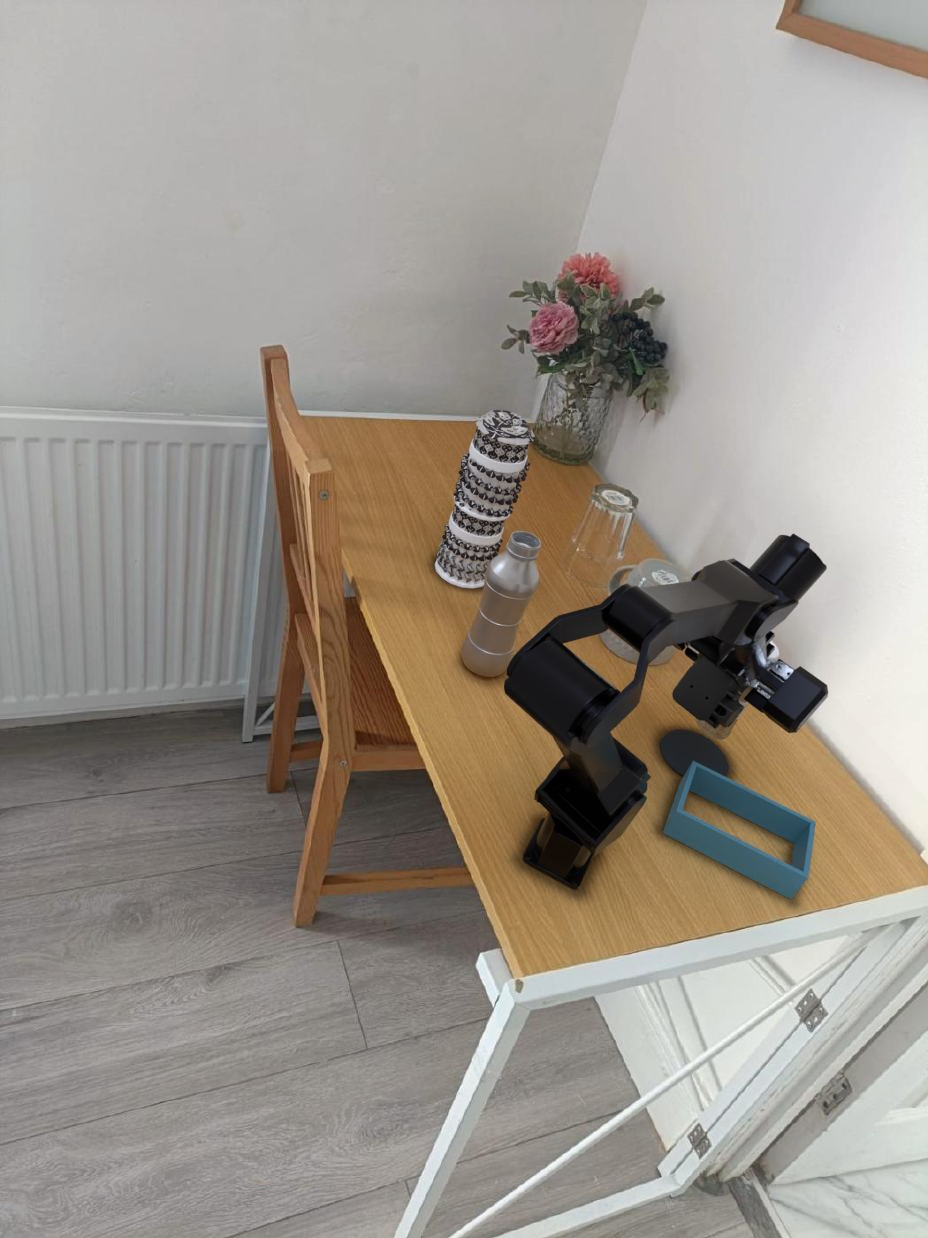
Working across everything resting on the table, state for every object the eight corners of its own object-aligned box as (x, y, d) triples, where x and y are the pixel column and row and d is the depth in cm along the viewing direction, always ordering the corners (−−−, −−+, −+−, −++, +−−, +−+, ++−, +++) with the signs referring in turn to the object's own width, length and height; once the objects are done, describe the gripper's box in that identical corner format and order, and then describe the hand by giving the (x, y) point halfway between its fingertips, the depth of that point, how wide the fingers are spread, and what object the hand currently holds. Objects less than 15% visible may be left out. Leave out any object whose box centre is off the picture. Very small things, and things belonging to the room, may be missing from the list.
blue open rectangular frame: (790, 900, 96) (808, 878, 94) (662, 833, 99) (676, 810, 97) (799, 843, 103) (816, 821, 101) (679, 782, 106) (693, 760, 104)
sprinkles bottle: (729, 745, 105) (782, 662, 97) (693, 732, 105) (742, 648, 97) (729, 721, 109) (779, 639, 101) (694, 708, 109) (741, 625, 101)
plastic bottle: (503, 689, 111) (551, 562, 99) (452, 673, 111) (494, 544, 99) (510, 659, 116) (556, 535, 105) (461, 643, 116) (502, 517, 105)
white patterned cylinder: (502, 589, 129) (554, 437, 114) (444, 591, 125) (490, 434, 110) (479, 552, 135) (526, 404, 120) (424, 552, 131) (465, 399, 116)
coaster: (721, 796, 106) (722, 795, 106) (652, 762, 108) (653, 760, 108) (733, 752, 113) (734, 750, 113) (668, 720, 115) (669, 718, 115)
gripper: (616, 641, 94) (637, 683, 108) (760, 754, 85) (763, 784, 99) (684, 565, 94) (696, 616, 108) (835, 669, 86) (827, 711, 99)
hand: (742, 681), depth 104 cm, fingers closed on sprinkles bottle, 4 cm apart
